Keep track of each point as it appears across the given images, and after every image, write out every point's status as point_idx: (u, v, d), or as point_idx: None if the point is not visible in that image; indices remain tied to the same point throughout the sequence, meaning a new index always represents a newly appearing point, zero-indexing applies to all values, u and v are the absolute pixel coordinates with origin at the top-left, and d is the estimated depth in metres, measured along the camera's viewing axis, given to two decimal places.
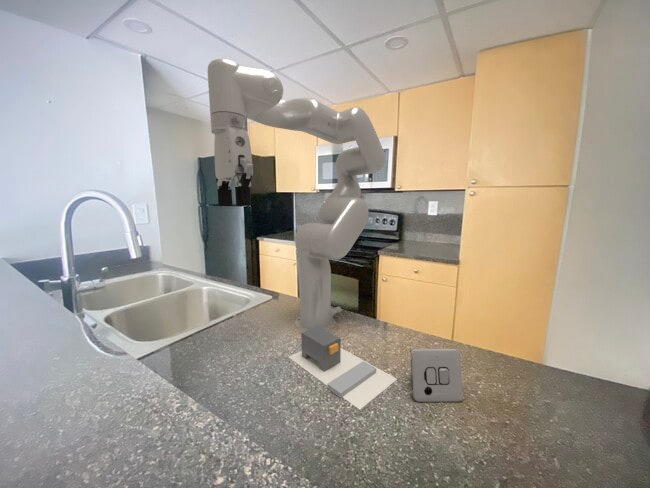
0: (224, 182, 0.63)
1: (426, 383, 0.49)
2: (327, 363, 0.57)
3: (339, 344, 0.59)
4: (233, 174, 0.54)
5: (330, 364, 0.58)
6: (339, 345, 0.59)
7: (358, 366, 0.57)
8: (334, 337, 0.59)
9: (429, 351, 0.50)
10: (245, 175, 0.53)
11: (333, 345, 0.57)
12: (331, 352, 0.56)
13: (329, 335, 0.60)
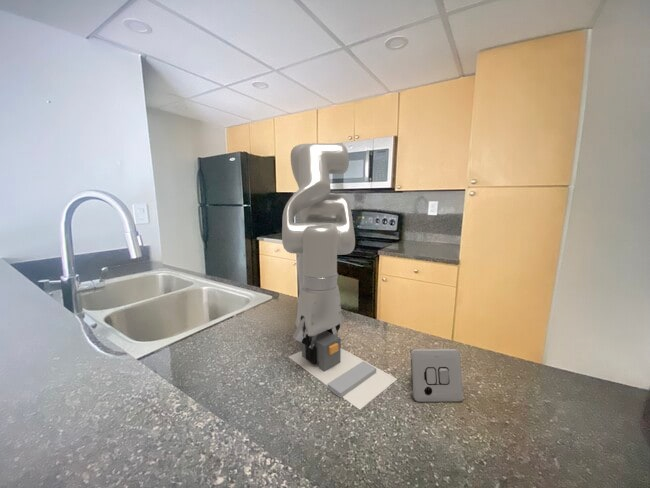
0: None
1: (426, 383, 0.49)
2: (327, 363, 0.57)
3: (339, 344, 0.59)
4: (339, 322, 0.62)
5: (330, 364, 0.58)
6: (339, 345, 0.59)
7: (358, 366, 0.57)
8: (334, 337, 0.59)
9: (429, 351, 0.50)
10: None
11: (333, 345, 0.57)
12: (331, 352, 0.56)
13: (329, 335, 0.60)
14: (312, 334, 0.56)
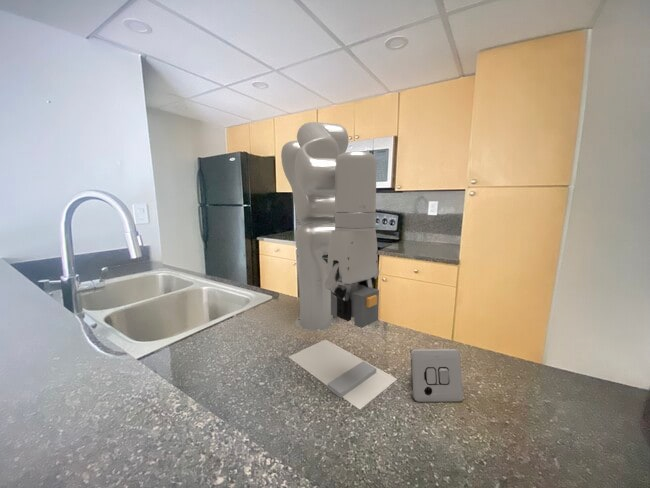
0: None
1: (426, 383, 0.49)
2: (364, 318, 0.47)
3: (378, 297, 0.49)
4: (375, 274, 0.52)
5: (368, 319, 0.48)
6: (377, 298, 0.49)
7: (358, 366, 0.57)
8: (371, 289, 0.50)
9: (429, 351, 0.50)
10: None
11: (371, 297, 0.48)
12: (370, 304, 0.47)
13: (365, 288, 0.50)
14: (347, 282, 0.46)
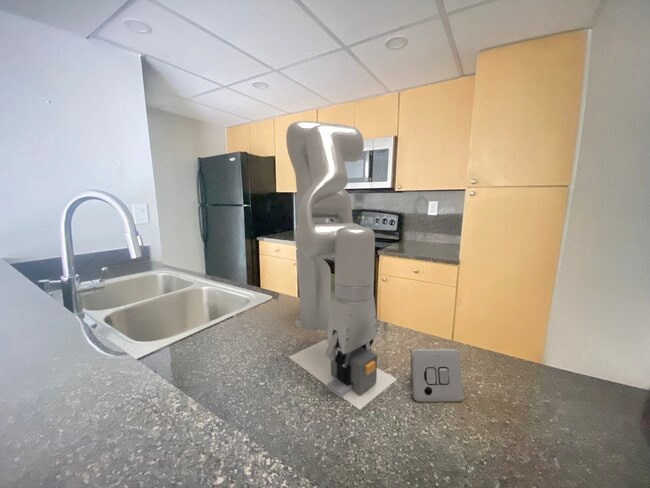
0: None
1: (426, 383, 0.49)
2: (363, 384, 0.49)
3: (376, 362, 0.52)
4: None
5: (366, 385, 0.50)
6: (375, 363, 0.52)
7: None
8: (369, 354, 0.52)
9: (429, 351, 0.50)
10: None
11: (370, 364, 0.50)
12: (368, 372, 0.49)
13: (363, 352, 0.52)
14: (346, 351, 0.48)
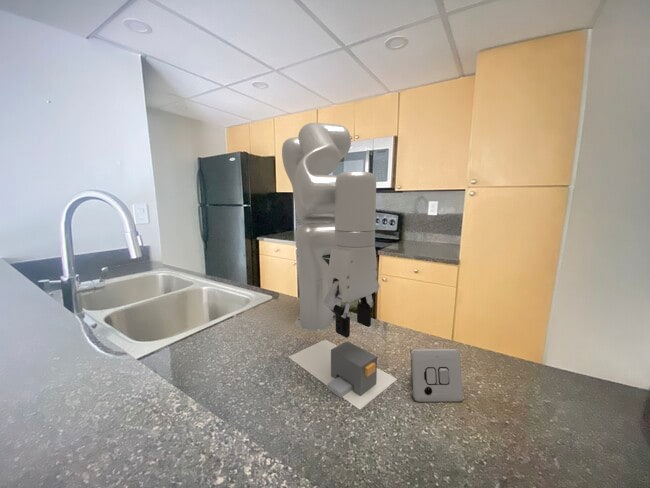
0: None
1: (426, 383, 0.49)
2: (363, 386, 0.50)
3: (376, 363, 0.52)
4: None
5: (366, 386, 0.50)
6: (375, 365, 0.52)
7: None
8: (369, 355, 0.52)
9: (429, 351, 0.50)
10: None
11: (370, 365, 0.50)
12: (368, 374, 0.49)
13: (363, 353, 0.53)
14: (347, 300, 0.47)
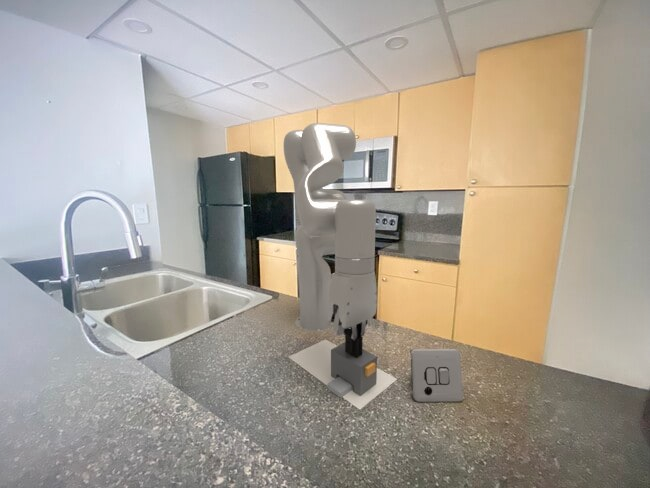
0: None
1: (426, 383, 0.49)
2: (363, 386, 0.50)
3: (376, 363, 0.52)
4: None
5: (366, 386, 0.50)
6: (375, 365, 0.52)
7: None
8: (369, 355, 0.52)
9: (429, 351, 0.50)
10: None
11: (370, 365, 0.50)
12: (368, 374, 0.49)
13: (363, 353, 0.53)
14: (347, 326, 0.47)
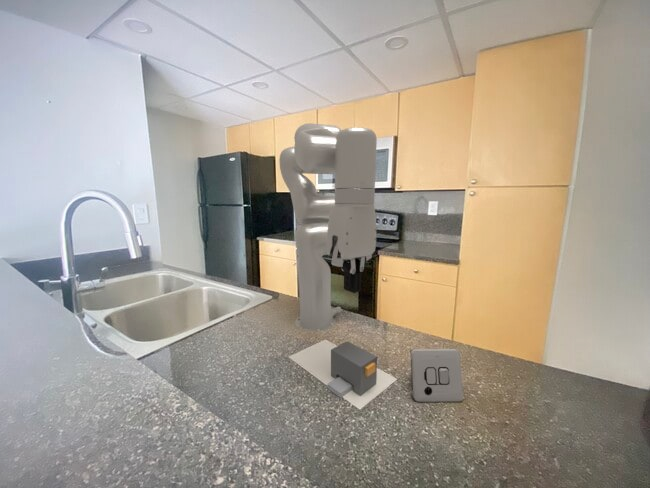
0: (343, 267, 0.51)
1: (426, 383, 0.49)
2: (363, 386, 0.50)
3: (376, 363, 0.52)
4: None
5: (366, 386, 0.50)
6: (375, 365, 0.52)
7: None
8: (369, 355, 0.52)
9: (429, 351, 0.50)
10: None
11: (370, 365, 0.50)
12: (368, 374, 0.49)
13: (363, 353, 0.53)
14: (346, 257, 0.48)
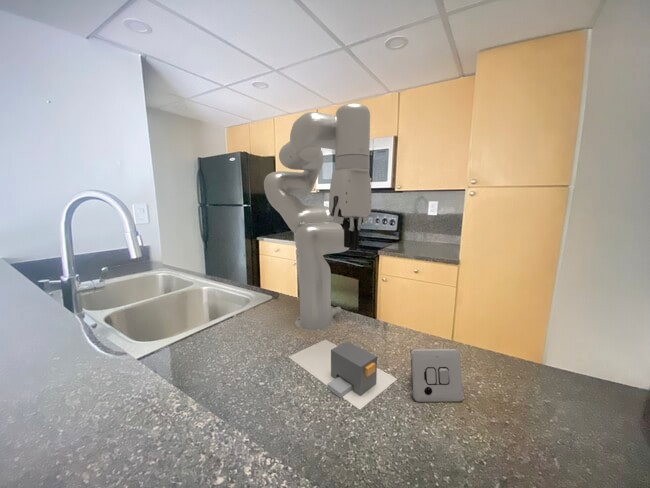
0: None
1: (426, 383, 0.49)
2: (363, 386, 0.50)
3: (376, 363, 0.52)
4: (369, 213, 0.62)
5: (366, 386, 0.50)
6: (375, 365, 0.52)
7: None
8: (369, 355, 0.52)
9: (429, 351, 0.50)
10: None
11: (370, 365, 0.50)
12: (368, 374, 0.49)
13: (363, 353, 0.53)
14: (345, 213, 0.56)
